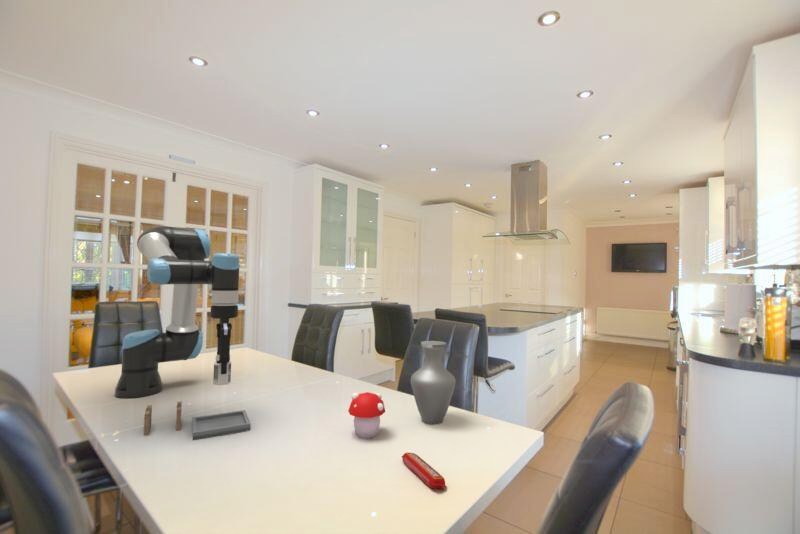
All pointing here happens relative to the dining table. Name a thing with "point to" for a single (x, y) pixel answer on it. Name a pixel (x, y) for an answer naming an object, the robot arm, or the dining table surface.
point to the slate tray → (220, 424)
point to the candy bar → (424, 470)
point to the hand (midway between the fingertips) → (222, 382)
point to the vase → (433, 384)
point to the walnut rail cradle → (149, 415)
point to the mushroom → (366, 413)
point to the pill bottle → (215, 379)
